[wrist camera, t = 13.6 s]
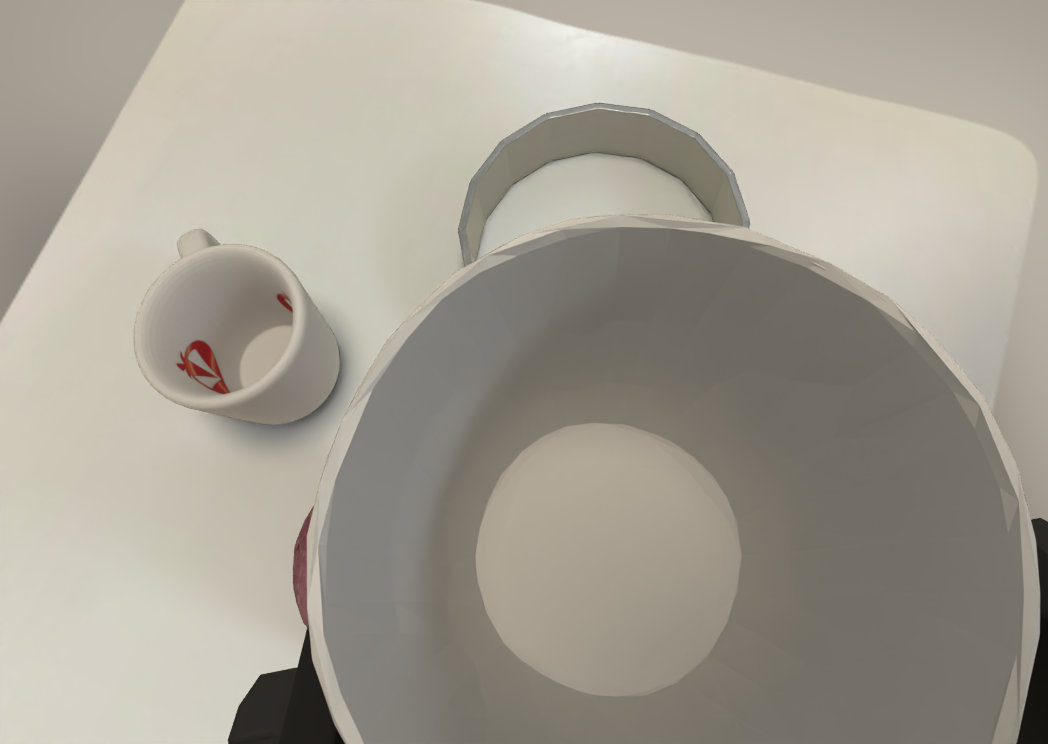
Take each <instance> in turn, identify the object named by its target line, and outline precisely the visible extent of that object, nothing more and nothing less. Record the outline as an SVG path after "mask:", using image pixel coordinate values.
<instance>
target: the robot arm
mask: <svg viewBox="0 0 1048 744" xmlns="http://www.w3.org/2000/svg"><path fill="white" fill-rule="evenodd" d="M1031 522H1032V526H1033V530H1034V534H1035V539H1036V547H1037V560H1038V572H1039V584H1040V636H1039V641H1038V645H1037V650H1036V655H1035V660H1034V664H1033V669H1032V674H1031V678H1030V683H1029V688H1028V692H1027V697H1026V702H1025V707H1024V711H1023V716H1022V721H1021V725H1020V730H1019V735H1018V739H1017V743H1016V744H1048V522H1047V521H1045V520H1043V519H1041V518H1038V519H1033V520H1031ZM228 743H229V744H345V743H344V741H343V739H342V737H341V736H340V734H339V732H338V730H337V728H336V727H335V725H334V722H333V719H332V716H331V713H330V710H329V707H328V704H327V701H326V699H325V696H324V693H323V690H322V687H321V684H320V681H319V678H318V675H317V672H316V669H315V667H314V664H313V661H312V653H311V643H310V633H309V623H308V627H307V631H306V636H305V640H304V644H303V648H302V652H301V656H300V660H299V664H298V667H297V668H292V669H287V670H282V671H277V672H272V673H267V674H262V675H260V676H259V678H258V679H257V680H256V682H255V683H254V685H253V686H252V688H251V689H250V691H249V692H248V694H247V695H246V696H245V698H244V699H243V701H242V702H241V704H240V705H239V707H238V710H237V713H236V716H235V720H234V723H233V726H232V729H231V732H230V735H229V738H228Z"/></svg>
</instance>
